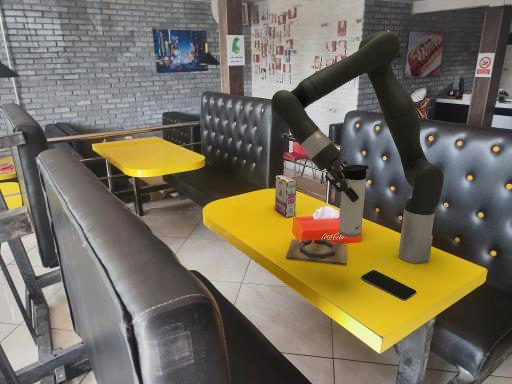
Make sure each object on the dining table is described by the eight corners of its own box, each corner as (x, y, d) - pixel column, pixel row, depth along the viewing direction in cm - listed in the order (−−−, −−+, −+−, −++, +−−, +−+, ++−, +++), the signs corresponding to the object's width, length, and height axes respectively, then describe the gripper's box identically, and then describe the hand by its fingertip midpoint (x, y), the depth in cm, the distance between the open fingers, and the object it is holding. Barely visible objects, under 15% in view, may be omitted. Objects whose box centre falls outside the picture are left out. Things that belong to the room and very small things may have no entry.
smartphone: (404, 300, 102) (359, 276, 113) (404, 304, 103) (359, 280, 113) (418, 291, 107) (373, 269, 117) (417, 294, 107) (373, 272, 118)
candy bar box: (295, 216, 162) (297, 180, 157) (285, 218, 160) (286, 182, 155) (284, 208, 172) (285, 174, 167) (274, 209, 170) (275, 175, 165)
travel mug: (362, 238, 102) (369, 168, 96) (338, 236, 104) (343, 167, 97) (361, 229, 108) (367, 163, 102) (338, 227, 109) (343, 162, 103)
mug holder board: (346, 246, 134) (347, 240, 133) (346, 265, 121) (347, 258, 120) (291, 241, 138) (291, 235, 138) (285, 258, 125) (286, 252, 125)
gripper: (321, 146, 95) (364, 196, 93) (338, 137, 107) (375, 182, 106) (301, 163, 99) (342, 212, 98) (319, 153, 111) (355, 196, 110)
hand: (359, 196), depth 102 cm, fingers closed on travel mug, 6 cm apart
